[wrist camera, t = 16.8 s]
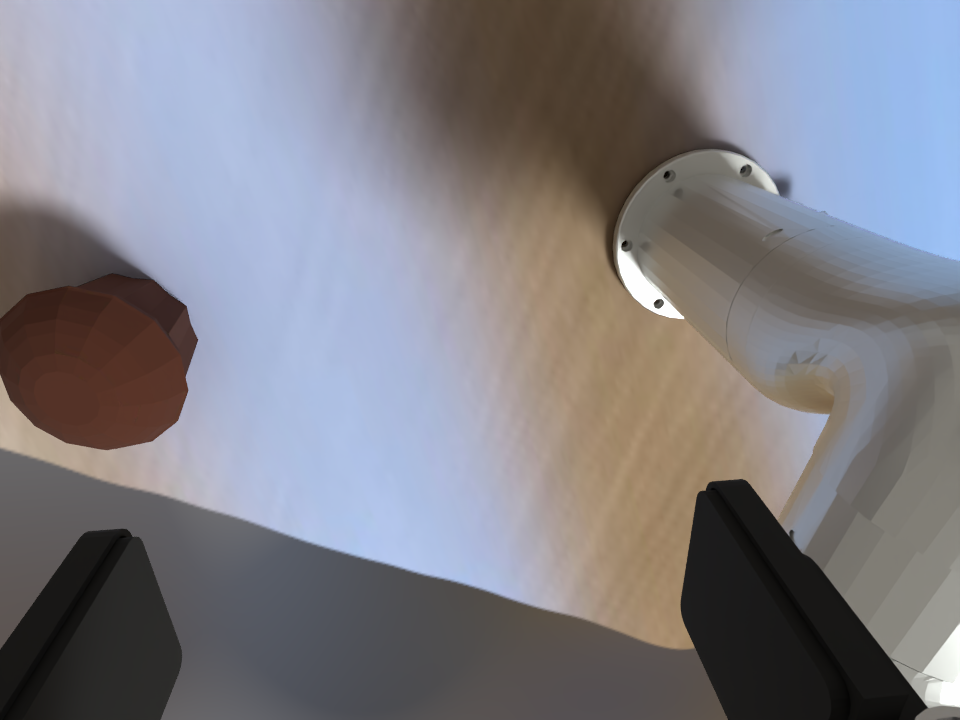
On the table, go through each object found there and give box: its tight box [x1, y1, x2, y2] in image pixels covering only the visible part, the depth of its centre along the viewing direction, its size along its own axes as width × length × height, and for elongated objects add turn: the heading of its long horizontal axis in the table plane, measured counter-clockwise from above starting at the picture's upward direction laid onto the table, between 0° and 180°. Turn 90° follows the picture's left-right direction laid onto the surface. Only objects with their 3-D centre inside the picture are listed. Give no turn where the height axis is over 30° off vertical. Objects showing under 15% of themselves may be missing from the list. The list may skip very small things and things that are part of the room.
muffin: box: [0, 273, 198, 450], centre depth 41 cm, size 12×11×10 cm
